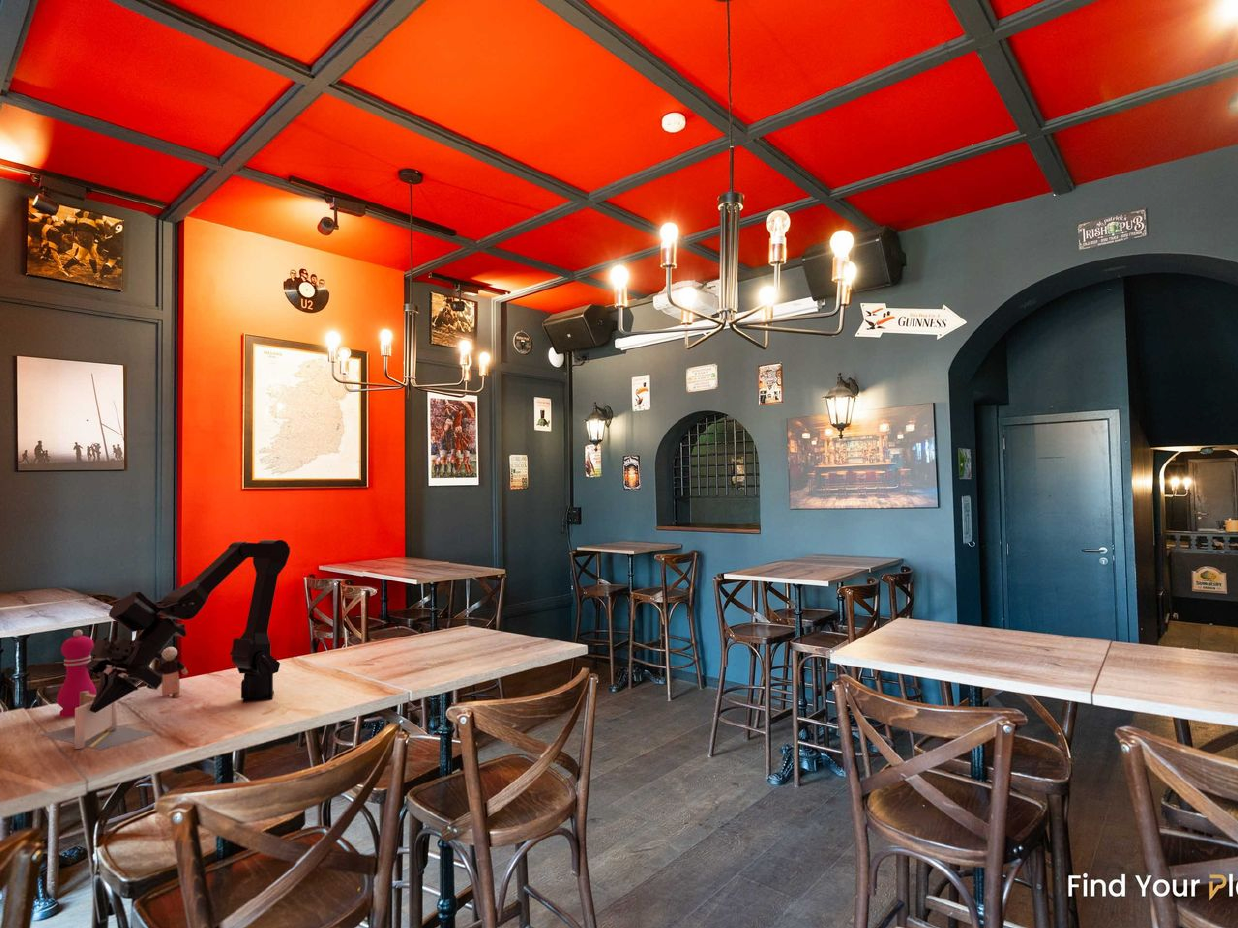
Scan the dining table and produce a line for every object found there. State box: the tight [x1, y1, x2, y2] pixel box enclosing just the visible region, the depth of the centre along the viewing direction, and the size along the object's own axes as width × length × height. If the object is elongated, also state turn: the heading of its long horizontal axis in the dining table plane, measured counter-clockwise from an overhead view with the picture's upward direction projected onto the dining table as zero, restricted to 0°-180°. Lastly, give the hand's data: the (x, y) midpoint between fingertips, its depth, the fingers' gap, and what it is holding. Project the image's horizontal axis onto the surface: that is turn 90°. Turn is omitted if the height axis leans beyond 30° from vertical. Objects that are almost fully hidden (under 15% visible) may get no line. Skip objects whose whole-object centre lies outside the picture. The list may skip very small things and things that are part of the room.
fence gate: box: [74, 700, 118, 750], centre depth 139 cm, size 12×2×8 cm, turn 10°
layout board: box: [41, 691, 155, 751], centre depth 141 cm, size 23×10×8 cm, turn 64°
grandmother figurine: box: [154, 646, 188, 699], centre depth 171 cm, size 8×4×13 cm, turn 149°
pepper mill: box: [56, 629, 97, 718], centre depth 157 cm, size 7×7×20 cm
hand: (92, 711), depth 135 cm, fingers closed
